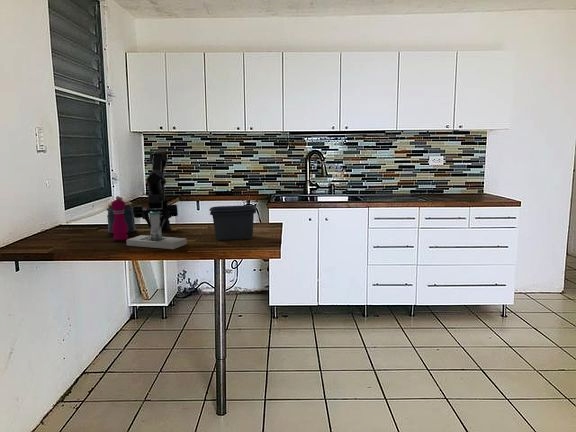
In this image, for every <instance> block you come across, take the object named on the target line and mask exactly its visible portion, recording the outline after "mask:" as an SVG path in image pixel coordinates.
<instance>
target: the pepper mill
mask: <svg viewBox="0 0 576 432" xmlns="http://www.w3.org/2000/svg"><path fill="white" fill-rule="evenodd" d="M120 197H121V196H118V195H117V196H115V199H114V200H113V202H112V201H111V202H112V204H111V206H112V208H113V209H114V210H113V213H114V223H113V226H112V232H113V233H114V234H113V240H115V241H123V240H127V239H129V235H128V234H129V233H127V232H128V226H127V224H126V222H125V219H124V213H125V212H124V210H123V209H124V208H125V202H124V201H123V200H124V199H122V200H119V199H120Z"/></svg>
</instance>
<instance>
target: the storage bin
mask: <svg viewBox="0 0 576 432" xmlns="http://www.w3.org/2000/svg"><path fill="white" fill-rule="evenodd" d="M208 211H210V213H209V215H210V216H212V220H213V226H214V227H213V228H214V233H215V234H214V236H215V240H216V241H224V240H225V241H227V240H228V241H229V240H230V241H231V240H251V239H253V237H254V236H253V235H254V219H255V214H256V212H257V205H221V206H212V207H209V209H208Z"/></svg>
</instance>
